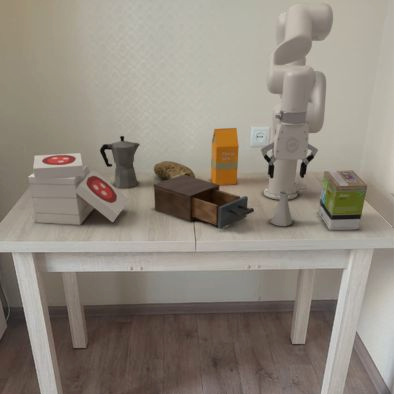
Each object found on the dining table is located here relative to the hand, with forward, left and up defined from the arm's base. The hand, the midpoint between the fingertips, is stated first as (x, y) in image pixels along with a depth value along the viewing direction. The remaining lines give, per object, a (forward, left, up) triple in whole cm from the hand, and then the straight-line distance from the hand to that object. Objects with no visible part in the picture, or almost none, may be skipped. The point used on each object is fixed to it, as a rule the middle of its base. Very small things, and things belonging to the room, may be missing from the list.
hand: (286, 177), depth 153 cm
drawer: (+20, -2, -14) cm, 24 cm away
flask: (0, 0, -15) cm, 15 cm away
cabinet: (+31, -13, -15) cm, 37 cm away
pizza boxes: (+67, -9, -15) cm, 69 cm away
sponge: (+35, -45, -15) cm, 59 cm away
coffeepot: (+55, -41, -15) cm, 70 cm away
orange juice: (+15, -43, -15) cm, 48 cm away
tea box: (-19, 0, -15) cm, 24 cm away
